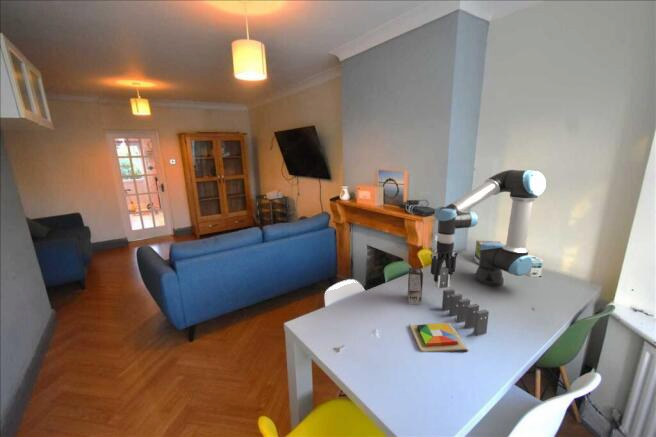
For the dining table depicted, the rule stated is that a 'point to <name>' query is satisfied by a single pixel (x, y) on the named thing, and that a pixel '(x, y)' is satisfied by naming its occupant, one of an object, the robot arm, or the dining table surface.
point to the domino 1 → (443, 277)
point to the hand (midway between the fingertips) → (441, 286)
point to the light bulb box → (535, 267)
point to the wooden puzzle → (437, 337)
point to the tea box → (478, 247)
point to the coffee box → (415, 285)
